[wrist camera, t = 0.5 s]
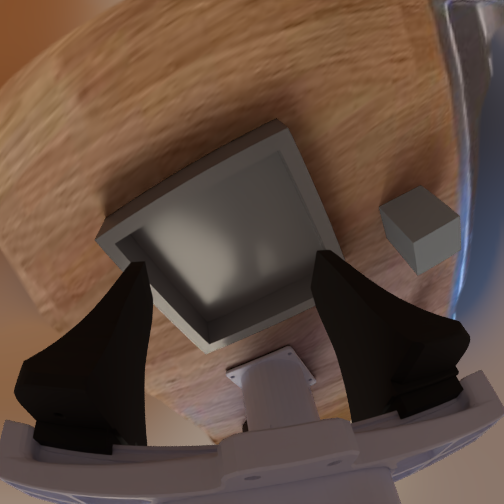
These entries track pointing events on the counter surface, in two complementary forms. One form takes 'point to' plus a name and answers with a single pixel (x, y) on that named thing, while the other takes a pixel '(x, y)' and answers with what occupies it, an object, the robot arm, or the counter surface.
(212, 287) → the dark grey square tray
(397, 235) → the tall grey cuboid
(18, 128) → the counter surface
